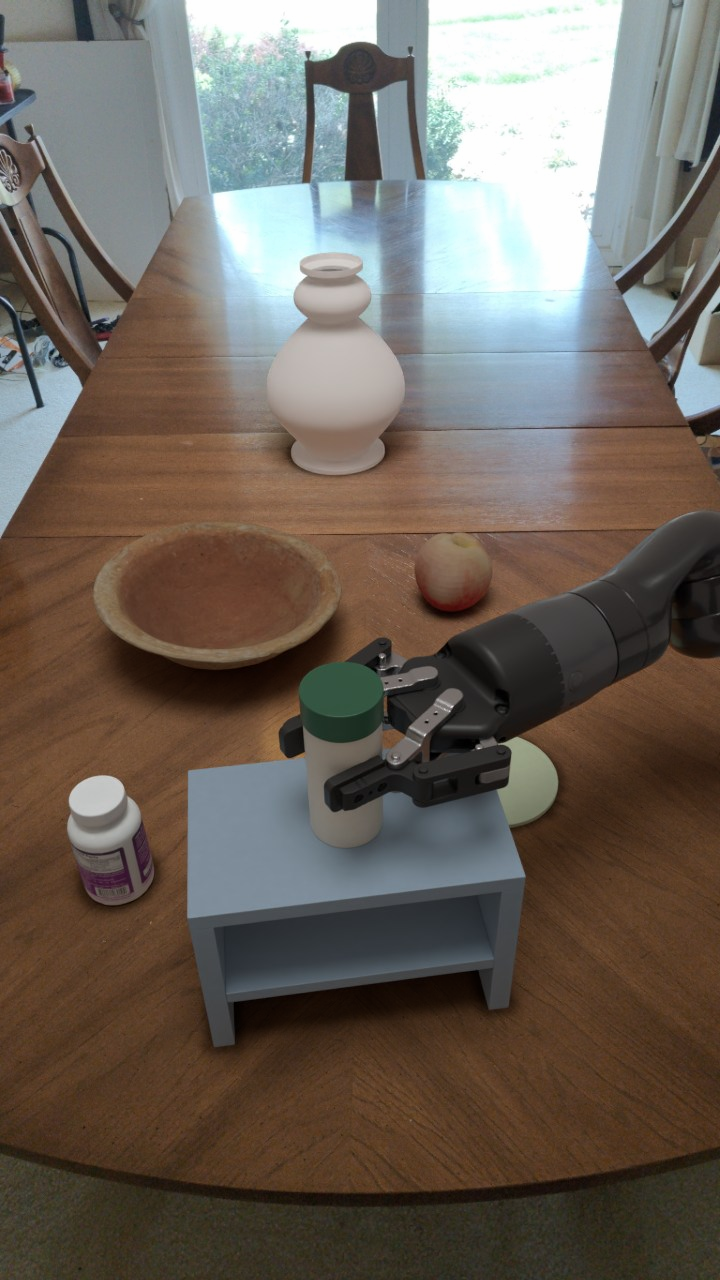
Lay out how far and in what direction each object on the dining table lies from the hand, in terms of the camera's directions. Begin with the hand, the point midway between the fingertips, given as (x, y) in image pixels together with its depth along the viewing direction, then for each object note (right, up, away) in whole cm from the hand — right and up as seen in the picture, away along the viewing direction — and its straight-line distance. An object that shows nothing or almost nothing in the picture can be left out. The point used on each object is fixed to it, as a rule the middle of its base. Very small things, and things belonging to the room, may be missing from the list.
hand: (304, 769), depth 57 cm
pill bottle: (-15, -11, +19) cm, 27 cm away
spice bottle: (+2, -4, +5) cm, 7 cm away
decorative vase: (0, +33, +75) cm, 81 cm away
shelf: (+3, -15, +13) cm, 20 cm away
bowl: (-10, +7, +43) cm, 44 cm away
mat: (+15, -4, +26) cm, 30 cm away
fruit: (+13, +11, +47) cm, 50 cm away
